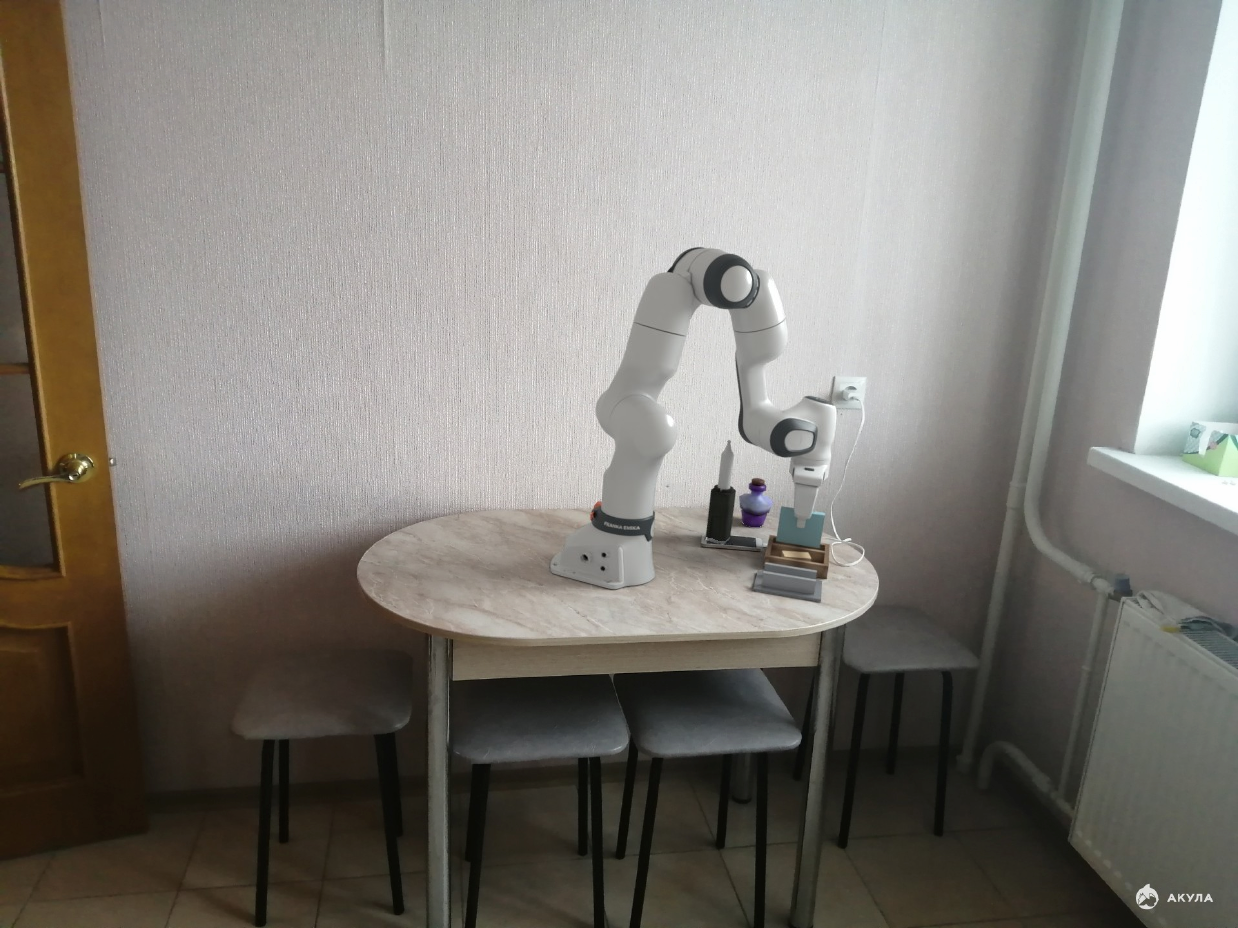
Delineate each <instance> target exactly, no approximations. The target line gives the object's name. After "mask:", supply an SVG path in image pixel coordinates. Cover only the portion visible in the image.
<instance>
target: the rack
mask: <svg viewBox="0 0 1238 928" xmlns="http://www.w3.org/2000/svg"><path fill="white" fill-rule="evenodd" d="M776 538H777V535H772V534H769V537H768V541H767V546H766V550H765V554H764V560H763V568H762V569H763V570H764V569H765V562H767V563H773V564H779V565H786V566H792V567H798V568H804V569H810V570H816V571H817V574H816V578H818V579H824V580H825V579H828V573H829V565H830V544H831V543H830V544H829V543H824V542H821V543H820V548H815V547H809V546H803V545H797V544H791V543H785V542H779V541H776ZM782 551H794V552H808V553H809V555H810V557H811V558H812V559H811V562H809V561H802V560H796V559H790V558H784V557H781V554H782Z"/></svg>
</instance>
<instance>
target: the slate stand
mask: <svg viewBox="0 0 1238 928" xmlns="http://www.w3.org/2000/svg"><path fill="white" fill-rule="evenodd" d="M816 574H817V571H816V570H810V569H804V568H798V567H792V566H786V565H779V564H773V563H767V562H765V569H763V570H760V569H758V570H757V573H756V577H755V580H754V585H753V587H752V588H753V589H752V591H753V592H759V593H764V594H769V595H776V596H782V597H787V598H792V599H799V600H803V601H804V600H805V601H809V602H810V601H811V602H816V603H821V601H822V590H823V580H821V579H820V580H818V579H817V577H816Z"/></svg>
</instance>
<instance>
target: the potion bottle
mask: <svg viewBox="0 0 1238 928" xmlns="http://www.w3.org/2000/svg"><path fill="white" fill-rule="evenodd" d="M765 482H766V481H765V479H762V478H760V477H759V478H758V477H754V478H752V479H751V482H749V483H748V490H750V493H743V494H741V495H739V496H738V499H739V501H738V502H739V509H741V511H740V512H741V520H742V521H741V523H742V522H743V523H744V525H747V526H750V527H760V526H762V525H764V524H765V521H766V518H767V516H768V514H769V513H770V510H771V508H772V505H773V503H774V501H773V499H772V498H771V497H770V496H767V495H763V494H764V492H766V491H767V484H766V483H765ZM744 525H743V526H744ZM747 526H746V527H747ZM750 527H749V528H750Z"/></svg>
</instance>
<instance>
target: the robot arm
mask: <svg viewBox="0 0 1238 928" xmlns="http://www.w3.org/2000/svg"><path fill="white" fill-rule="evenodd" d="M643 290H644V291H643V293H642V295H641V297H640V300H639V303H638V305H637V309H636V311H635V314H634V318H633V322H632V324H631V328H630V331H629V336H628V339H627V344H626V347H625V351H624V354H623V357H622V359H621V362H620V364H619V367H618V369H617V371H616V373H615V375H614V377H613V379H612V380H611V382H610V384H609V386H608V388H607V389H606V390H605V391H604V392H603V393H601V394H600V396H599V397H598V399H597V401H596V404H595V410H594V411H595V416H596V420H597V421H598V423H599V426H600V427H601V429H602V430H603V431H604V433H605V434H607V435H608V436H610V438H612V439H613V440H614V445H615V447H614V451H613V456H612V458H611V461H610V465H609V466H608V467H607V468H606V469H605V470H604V472H603V478H602V479H603V480H602V489H601V490H602V491H601V493H602V494H601V501H600V500H598V501H597V502H596V503H595V504H594V505H593V508H592V510H591V513H590V516H589V520H590V522H589V523H587V524H585V525H583V526H582V527H579V528H577V529H576V530H574V531H573V532H572V533H570V534H569V535H568V537H566V540H565V542H564V544H563V547H562V550H560V551H559V552H557V553H556V554H555V555H554V556H553V557H552V559H551V561H550V565H549V570H550V572H551V573H552V574H554V575H557V576H560V577H565V578H568V579H573V580H576V581H580V582H583V583H588V584H591V585H593V586H594V585H595V586H599V587H601V588H606V589H610V590H618V589H621V588H624V587H628V586H629V587H630V586H639V585H642V584H643V585H644V584H647V583H649V582H650V581H652V580H653V579H654V578H655V576H656V571H655V566H654V557H653V546H652V545H653V539H654V538H653V537H654V535H655V527H656V526H655V525H656V519H655V518H656V512H655V510H654V508H655V507H654V506H655V497H656V489H657V488H656V487H657V481H658V476H659V472H660V470H661V466H662V463H663V461H664V459H665V456H666V455H667V454H669V452H670V451H671V450H672V449H673V447H674V446H675V444H676V442H677V439H678V426H677V423H676V421H675V420H674V418H673V417H672V415H671V414H670V413H669V411H668V410H667V409H666V408H665V407H664V406H663V405H661V404H660V403H658V402H657V401H658V398H659V396H660V394H661V392H662V390H663V388H664V387H665V385H666V384H667V383H668V381H669V380H670V379H672V378H673V377H674V376H675V375H676V373H677V372H678V368H679V365H680V360H681V357H682V354H683V350H684V347H685V342H686V339H687V335H688V333H689V328H690V323H691V320H692V318H693V316H694V314H695V313H696V311H697V309H698V308H699V307H701V305H704V306H707V307H713V308H717V309H721V310H728V313H729V315H730V319H731V327H732V331H733V336H734V341H735V354H734V357H735V359H734V361H735V370H736V378H737V379H736V380H737V387H738V395H739V396H738V397H739V414H738V419H737V429H738V432H739V435H740V437H741V439H743V440H744V442H746V443H748V444H749V445H753V446H756V447H758V448H761V449H762V450H764V451H766V452H768V453H770V454H773V455H775V456H776V457H780V458H790V461H789V469H788V472H789V474H790V476H791V478H792V483H793V484H794V494H793V495H794V497H793V508H794V516H795V517H798V519H797V527H799V528H804V527H805V521H806V519H810V517H811V515H812V512H813V511H814V507H815V504H816V501H817V496H818V494H819V490H820V488H821V487H822V486H823V484H824V481H825V480H828V478H829V474H830V468H831V467H830V466H831V462H832V461H831V460H832V446H833V443H834V441H835V437H836V431H837V430H836V429H837V415H838V414H837V412H838V411H837V407H836V406H835V404H834V403H832V402H831V401H829V400H826V399H824V398H821V397H819V396H818V397H817V396H814V395H806V396H805V395H804V396H803V397H802V399H801V400H800V401H799V402H797V404H794V405H793V406H792V407H789V408H787V409H784V410H782V409H781V408H778V407H776V406H775V405H774V404H773V403H772V401H770V399H769V397H768V389H767V380H766V365H767V364H769V363H771V362H773V361H775V360H777V359H778V358H779V357H780V356H781V355H782V354H783V353H784V351H785V350H786V348H787V346H788V342H789V330H788V324H787V323H788V322H787V320H786V319H787V318H786V314H785V309H784V304H783V301H782V298H781V295H780V292H779V290H778V286H777V285H776V282H775V279H774V278H773V276H772V274H770V273H769V272H768V271H767V270H764V269H758V268H753V267H752V265H751V264H750V263H749V262H748V261H747V260H746V259H745V258H743V257H741V256H740V255H737V254H735V253H729V252H726V251H724V250H723V249H718V248H711V247H709V248H708V247H704V246H703V247H701V246H696V247H690V248H688V249H686V250H684V251H683V252H682V253H680V254H679V255H678V256H677V257H676V259H675V260H674V261H673V263H672V265H671V267H669V269H668V270H667V271H666V272H659V273H657V274H655V275H653V276H652V277H651V278H650V279H649V280H648V282H647V284H646V286H645V289H643Z"/></svg>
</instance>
